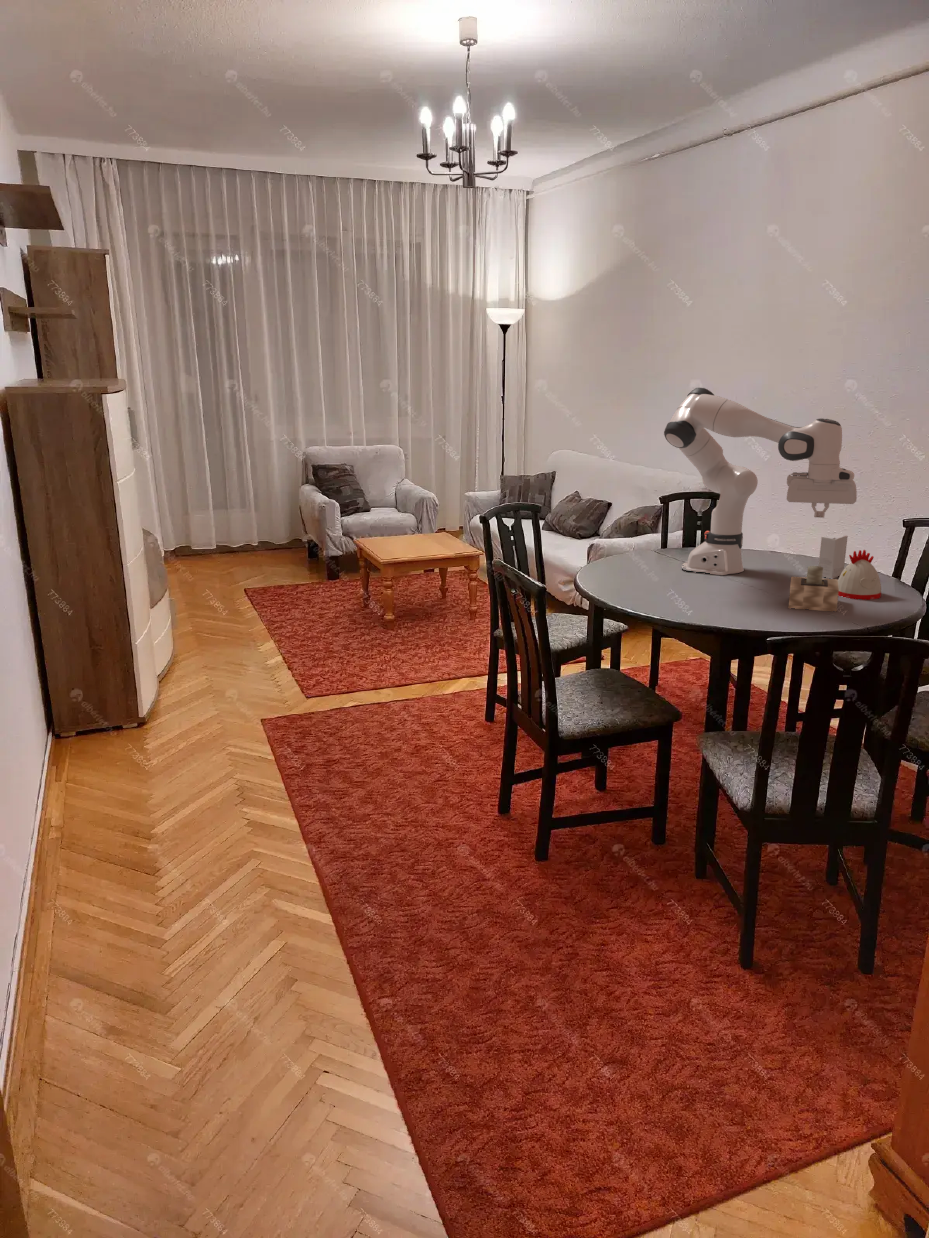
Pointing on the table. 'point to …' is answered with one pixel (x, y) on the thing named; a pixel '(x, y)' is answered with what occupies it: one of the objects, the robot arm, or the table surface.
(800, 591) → the birch holder
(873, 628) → the table surface
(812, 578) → the peg
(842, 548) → the skincare box
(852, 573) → the kitchen timer
